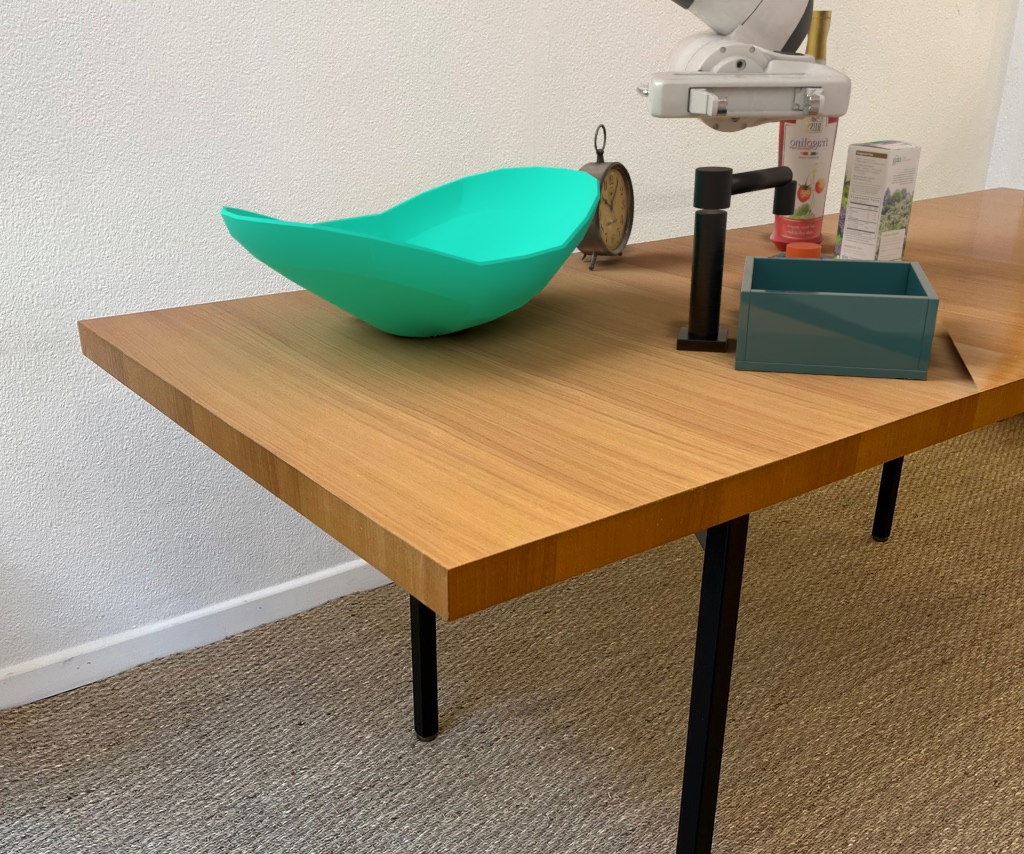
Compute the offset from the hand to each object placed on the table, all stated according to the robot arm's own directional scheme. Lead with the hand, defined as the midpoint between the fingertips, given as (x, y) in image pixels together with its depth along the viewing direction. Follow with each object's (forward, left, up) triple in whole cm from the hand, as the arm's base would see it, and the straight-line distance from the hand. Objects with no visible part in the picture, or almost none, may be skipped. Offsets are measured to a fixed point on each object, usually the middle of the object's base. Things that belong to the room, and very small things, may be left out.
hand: (768, 106), depth 100 cm
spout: (+1, +9, -9) cm, 13 cm away
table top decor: (+31, +12, -20) cm, 39 cm away
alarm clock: (+19, -21, -20) cm, 35 cm away
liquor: (-5, -34, -20) cm, 40 cm away
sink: (-7, +13, -20) cm, 25 cm away
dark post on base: (+4, +13, -20) cm, 24 cm away
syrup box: (-13, -21, -20) cm, 32 cm away
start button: (-5, -8, -16) cm, 19 cm away
